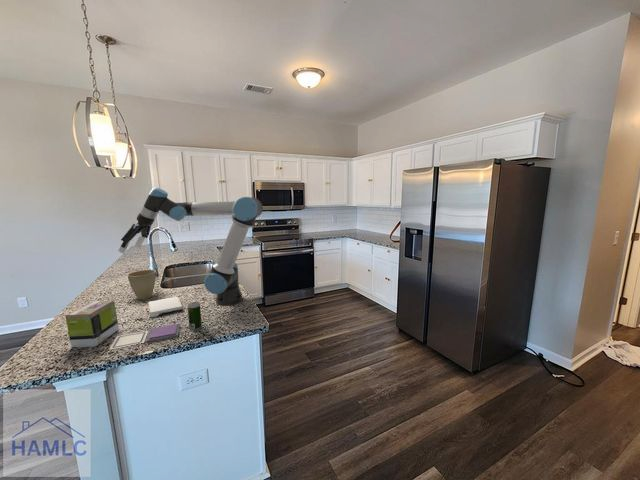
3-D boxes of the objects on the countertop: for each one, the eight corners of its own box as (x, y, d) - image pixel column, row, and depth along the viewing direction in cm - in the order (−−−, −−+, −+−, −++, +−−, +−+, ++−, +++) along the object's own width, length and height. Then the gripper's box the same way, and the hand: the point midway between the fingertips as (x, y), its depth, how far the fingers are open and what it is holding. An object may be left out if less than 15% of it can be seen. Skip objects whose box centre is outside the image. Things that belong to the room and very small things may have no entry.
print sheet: (148, 331, 125) (148, 330, 125) (143, 343, 114) (143, 342, 114) (117, 336, 120) (117, 336, 120) (108, 350, 109) (108, 349, 109)
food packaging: (148, 307, 155) (150, 318, 139) (148, 301, 155) (149, 312, 138) (178, 302, 163) (182, 312, 147) (177, 296, 163) (182, 306, 147)
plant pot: (128, 297, 170) (125, 272, 167) (155, 291, 179) (153, 268, 177) (132, 303, 158) (128, 277, 156) (160, 297, 168) (158, 272, 166)
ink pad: (180, 325, 130) (179, 322, 130) (178, 336, 119) (177, 333, 119) (151, 330, 125) (150, 327, 125) (146, 342, 114) (146, 339, 114)
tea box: (97, 330, 126) (92, 300, 124) (119, 329, 126) (115, 299, 124) (69, 348, 111) (64, 314, 109) (95, 347, 112) (90, 313, 109)
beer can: (199, 330, 125) (197, 305, 123) (187, 330, 125) (185, 306, 123) (203, 325, 130) (201, 301, 128) (192, 325, 130) (190, 301, 128)
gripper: (153, 209, 153) (137, 241, 156) (125, 213, 128) (105, 250, 131) (166, 216, 154) (149, 247, 157) (140, 222, 129) (120, 258, 132)
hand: (129, 249), depth 144 cm, fingers open, 13 cm apart
